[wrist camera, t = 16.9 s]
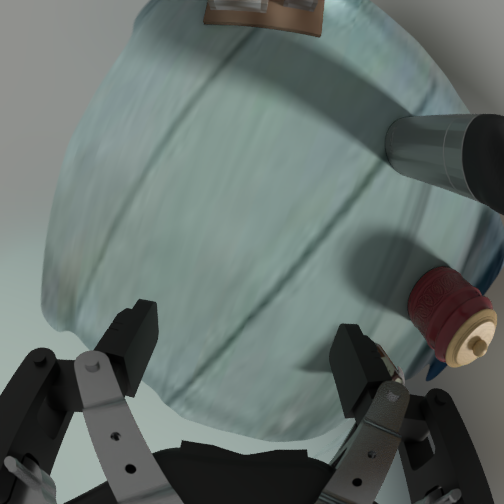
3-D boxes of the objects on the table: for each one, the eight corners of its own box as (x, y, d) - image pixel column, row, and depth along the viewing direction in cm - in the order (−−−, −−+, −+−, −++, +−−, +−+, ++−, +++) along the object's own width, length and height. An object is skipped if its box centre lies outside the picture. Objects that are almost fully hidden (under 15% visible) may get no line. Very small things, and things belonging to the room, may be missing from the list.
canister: (467, 282, 42) (518, 331, 26) (429, 331, 47) (469, 389, 30) (436, 252, 40) (499, 303, 24) (393, 309, 44) (437, 377, 28)
